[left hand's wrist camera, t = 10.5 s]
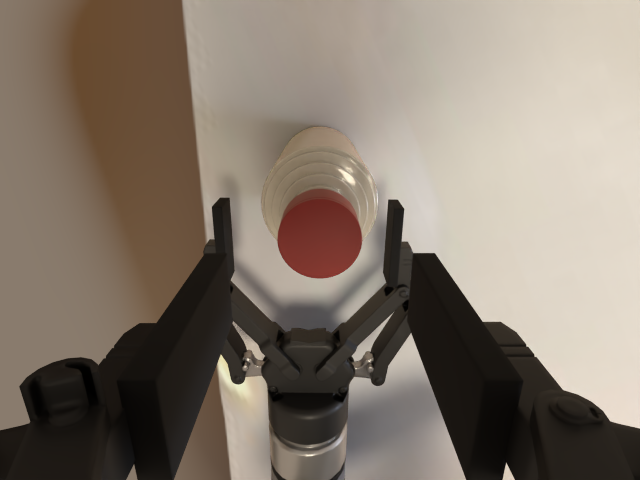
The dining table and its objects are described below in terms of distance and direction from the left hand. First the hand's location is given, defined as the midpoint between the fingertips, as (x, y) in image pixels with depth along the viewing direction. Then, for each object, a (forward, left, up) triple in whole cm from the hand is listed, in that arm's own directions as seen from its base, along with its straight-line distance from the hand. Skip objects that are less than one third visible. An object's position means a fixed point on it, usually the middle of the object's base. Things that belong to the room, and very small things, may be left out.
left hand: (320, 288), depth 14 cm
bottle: (0, 0, -24) cm, 24 cm away
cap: (0, 0, -5) cm, 5 cm away
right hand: (+2, -1, -18) cm, 18 cm away
